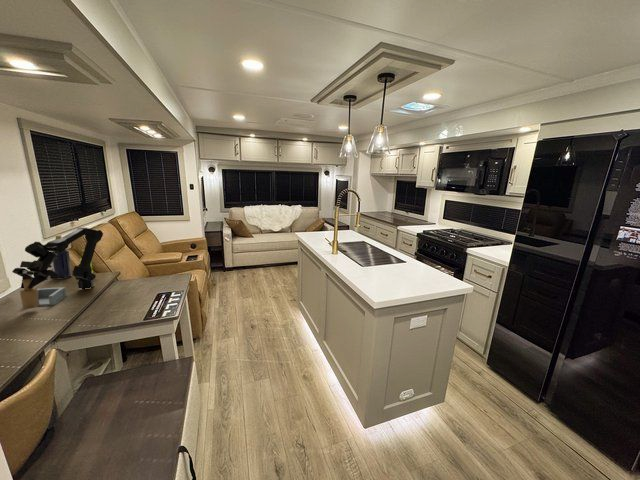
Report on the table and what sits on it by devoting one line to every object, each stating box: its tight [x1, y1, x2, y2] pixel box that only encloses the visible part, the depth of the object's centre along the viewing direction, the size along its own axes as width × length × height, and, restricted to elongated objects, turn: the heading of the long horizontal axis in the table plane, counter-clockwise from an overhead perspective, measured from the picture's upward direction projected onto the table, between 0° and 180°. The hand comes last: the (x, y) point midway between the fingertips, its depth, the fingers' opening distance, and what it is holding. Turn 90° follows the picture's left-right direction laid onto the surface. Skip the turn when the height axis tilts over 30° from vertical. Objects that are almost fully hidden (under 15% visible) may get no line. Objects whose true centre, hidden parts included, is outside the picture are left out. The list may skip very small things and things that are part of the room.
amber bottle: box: [19, 278, 40, 310], centre depth 135 cm, size 6×6×15 cm
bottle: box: [52, 234, 73, 279], centre depth 179 cm, size 9×9×30 cm
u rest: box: [37, 287, 67, 307], centre depth 147 cm, size 12×13×6 cm
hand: (25, 288), depth 133 cm, fingers closed on amber bottle, 3 cm apart
